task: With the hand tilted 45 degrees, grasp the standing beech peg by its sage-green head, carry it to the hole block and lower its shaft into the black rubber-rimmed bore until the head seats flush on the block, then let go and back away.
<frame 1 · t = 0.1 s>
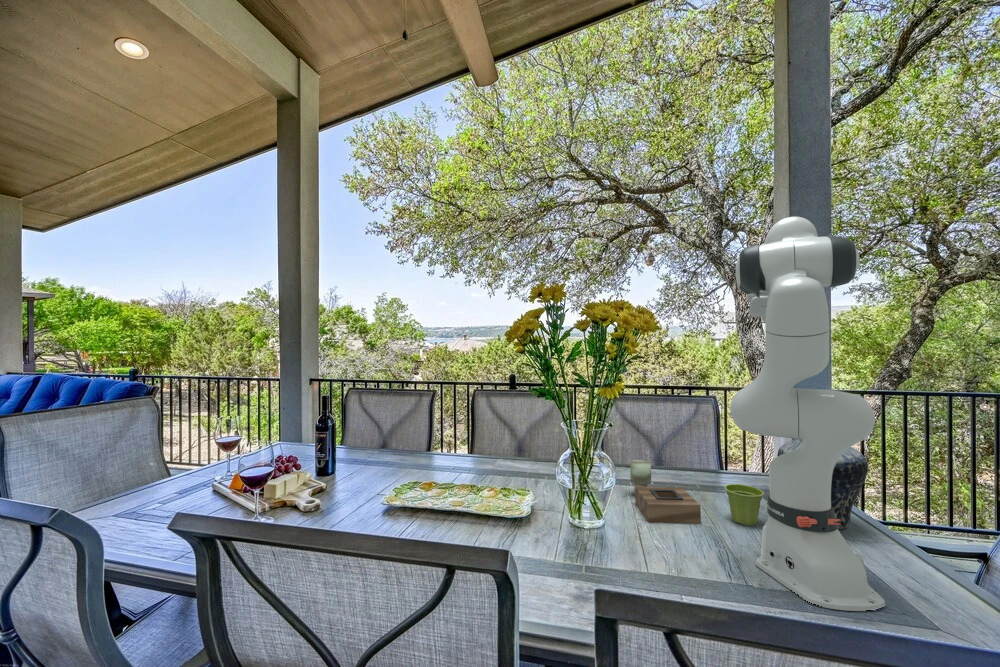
hand: (785, 326, 141), 54 cm above the table, tool tilted 30°, fingers open, 8 cm apart
hole block: (666, 512, 122), on the table
plant pot: (744, 522, 116), on the table
peg: (641, 495, 137), on the table
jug: (820, 523, 115), on the table
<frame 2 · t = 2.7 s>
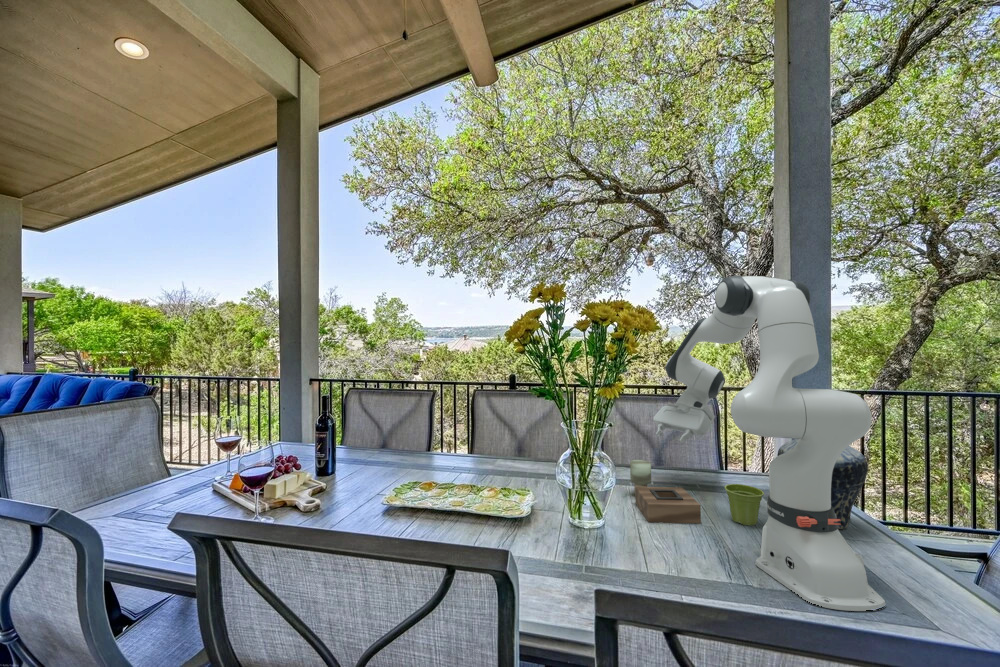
hand: (668, 438, 142), 17 cm above the table, tool tilted 45°, fingers open, 8 cm apart
nothing on the table moved.
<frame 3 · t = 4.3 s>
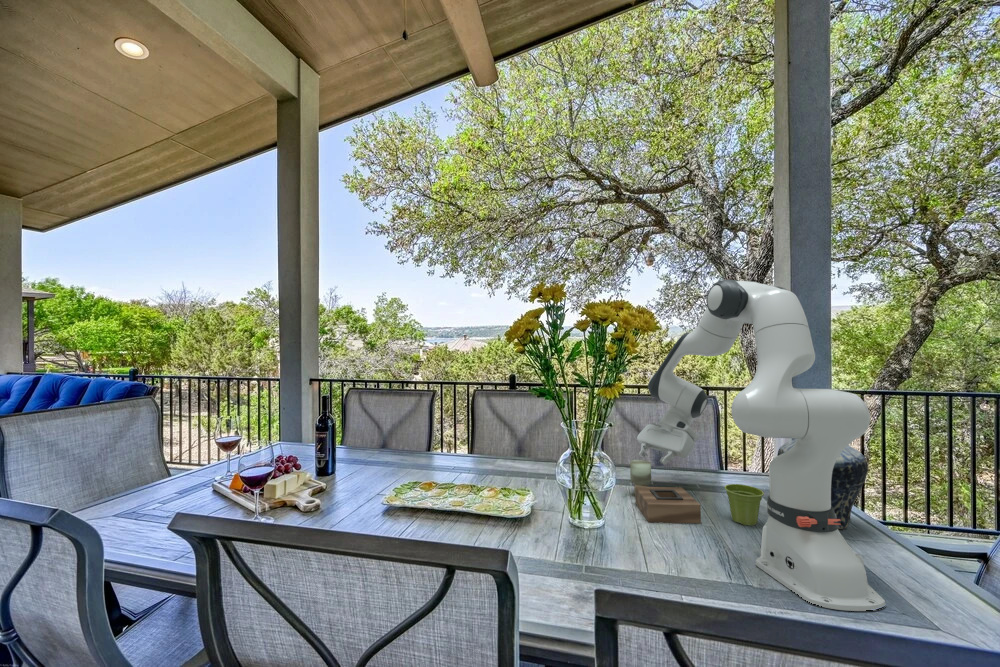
hand: (651, 459, 139), 11 cm above the table, tool tilted 45°, fingers open, 8 cm apart
nothing on the table moved.
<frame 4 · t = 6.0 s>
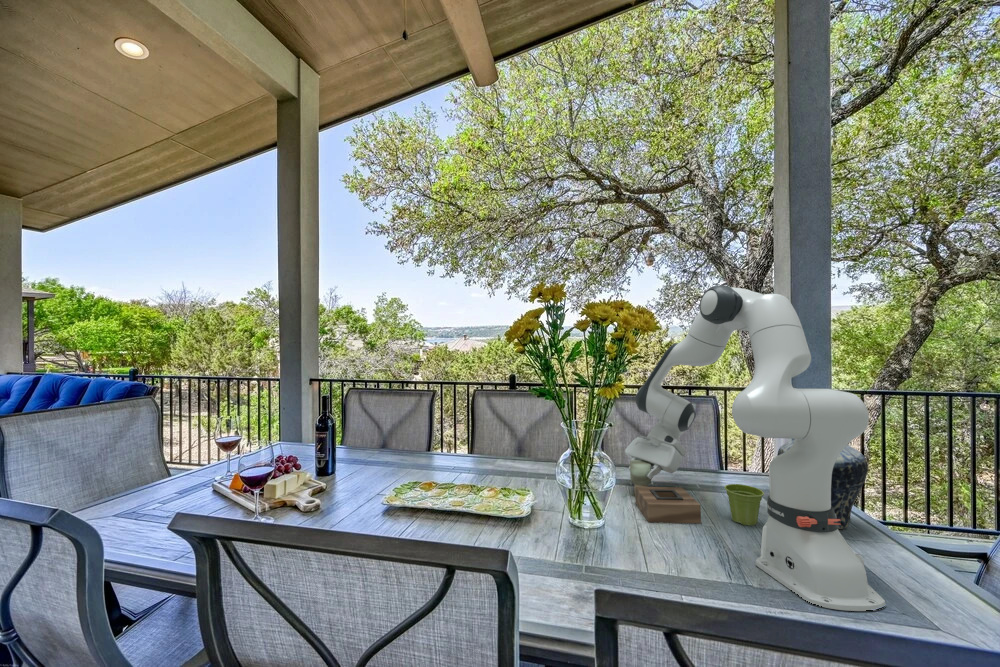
hand: (639, 474, 136), 7 cm above the table, tool tilted 45°, fingers closed on peg, 6 cm apart
peg: (641, 495, 137), on the table, touching gripper
everything else where it was.
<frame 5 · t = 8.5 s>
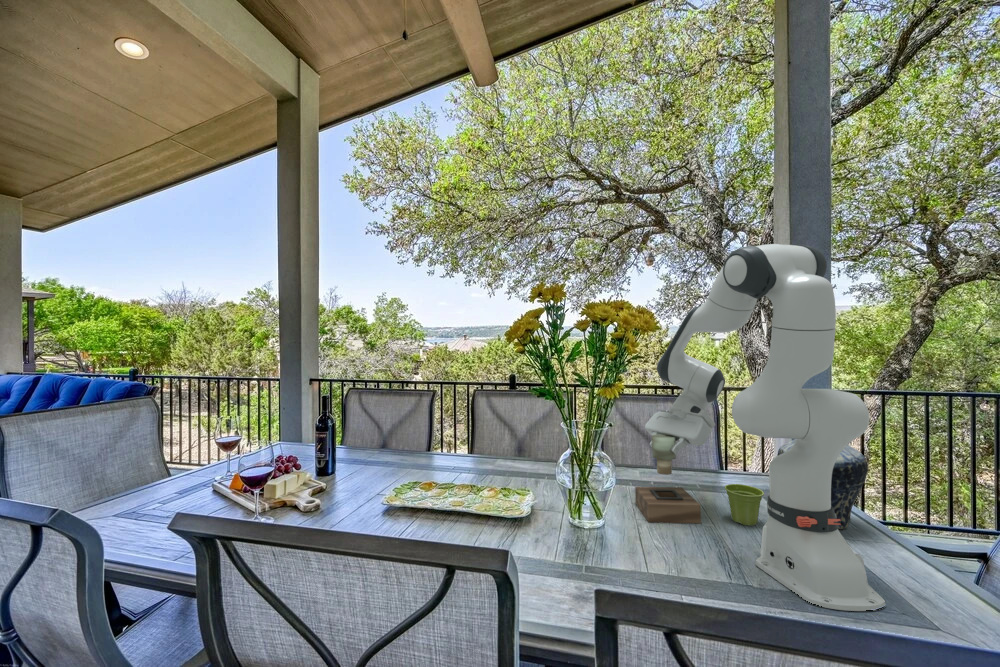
hand: (662, 449, 123), 18 cm above the table, tool tilted 45°, fingers closed on peg, 6 cm apart
peg: (664, 472, 123), point 11 cm above the table, touching gripper
everything else where it was.
when the fingers open (9 cm above the table, at t = 11.5 s): peg drops 1 cm, resting on hole block.
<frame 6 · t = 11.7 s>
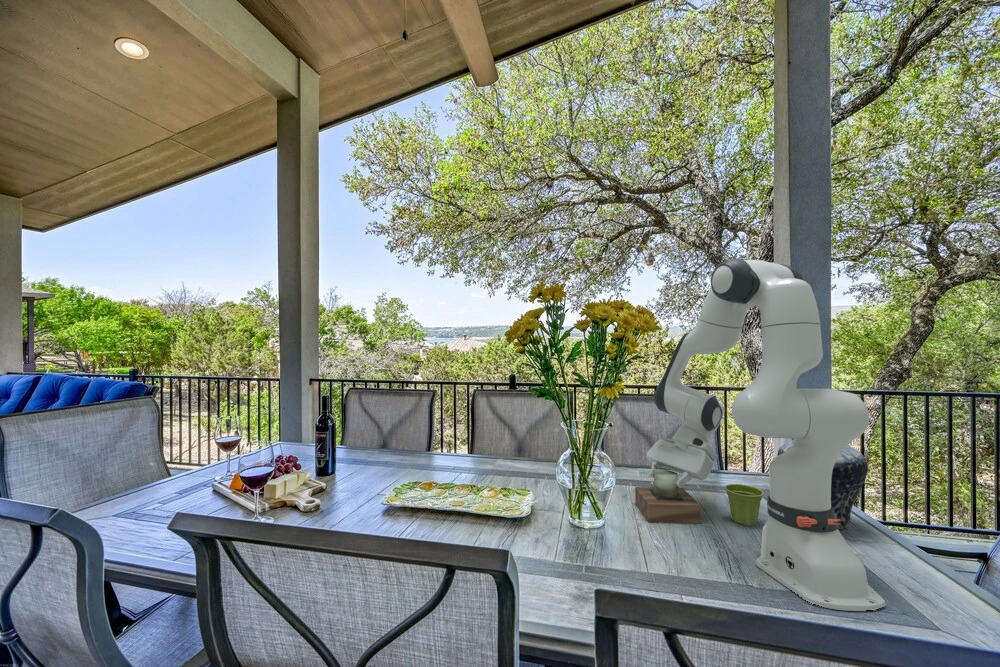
hand: (664, 481, 122), 9 cm above the table, tool tilted 45°, fingers open, 8 cm apart
peg: (666, 509, 122), point 1 cm above the table, touching hole block
everything else where it was.
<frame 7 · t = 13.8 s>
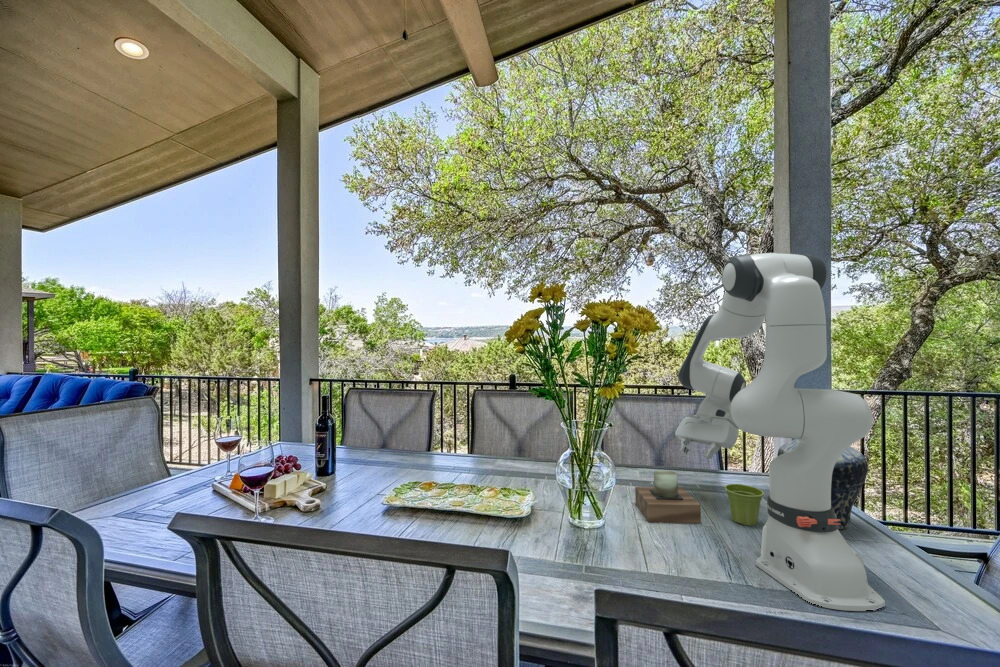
hand: (694, 455, 129), 15 cm above the table, tool tilted 35°, fingers open, 8 cm apart
nothing on the table moved.
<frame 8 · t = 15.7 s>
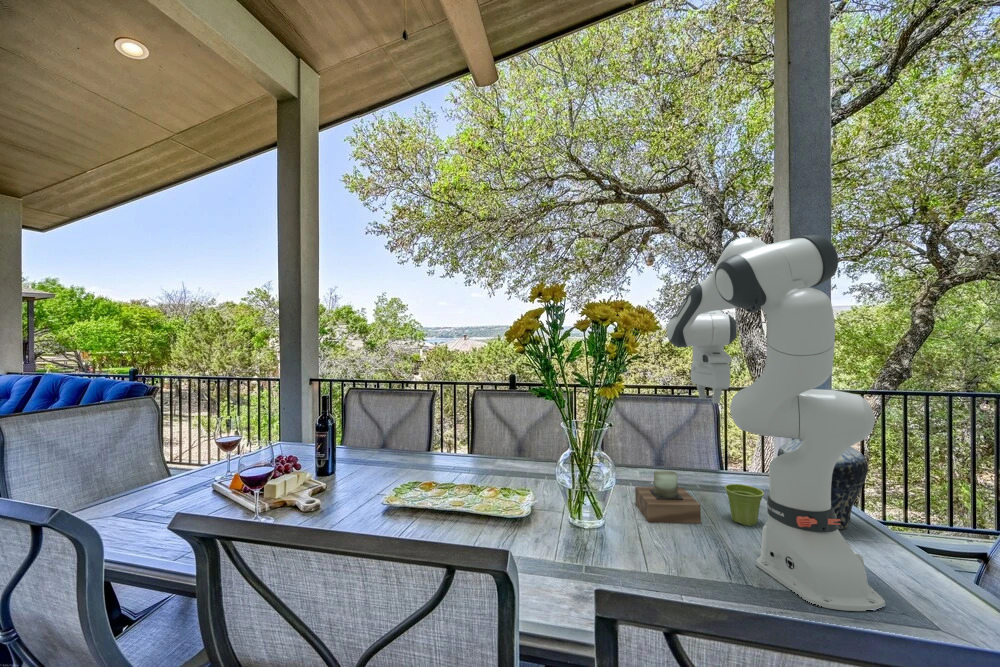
hand: (709, 400, 131), 31 cm above the table, tool pointing down, fingers open, 8 cm apart
nothing on the table moved.
at the end: peg 0.0 cm off-centre on the hole block, point 0.9 cm above the hole block's base; peg tilted 0°; the gripper is holding nothing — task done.
